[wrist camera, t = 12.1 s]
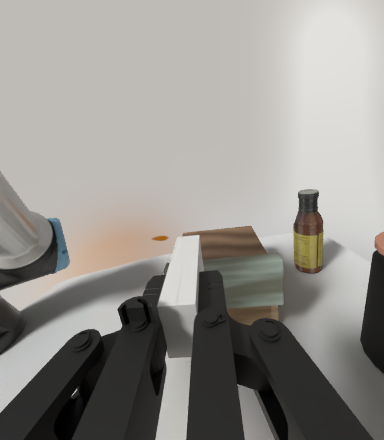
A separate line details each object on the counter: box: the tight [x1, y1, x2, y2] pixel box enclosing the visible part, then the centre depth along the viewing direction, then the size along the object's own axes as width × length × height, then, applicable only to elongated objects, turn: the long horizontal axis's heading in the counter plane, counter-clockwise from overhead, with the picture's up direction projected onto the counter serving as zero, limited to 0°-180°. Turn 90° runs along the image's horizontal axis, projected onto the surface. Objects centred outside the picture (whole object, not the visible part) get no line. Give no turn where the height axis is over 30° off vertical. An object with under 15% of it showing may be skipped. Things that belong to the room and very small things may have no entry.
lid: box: [164, 226, 284, 309], centre depth 45 cm, size 25×18×8 cm
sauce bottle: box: [294, 189, 323, 273], centre depth 51 cm, size 6×6×20 cm
